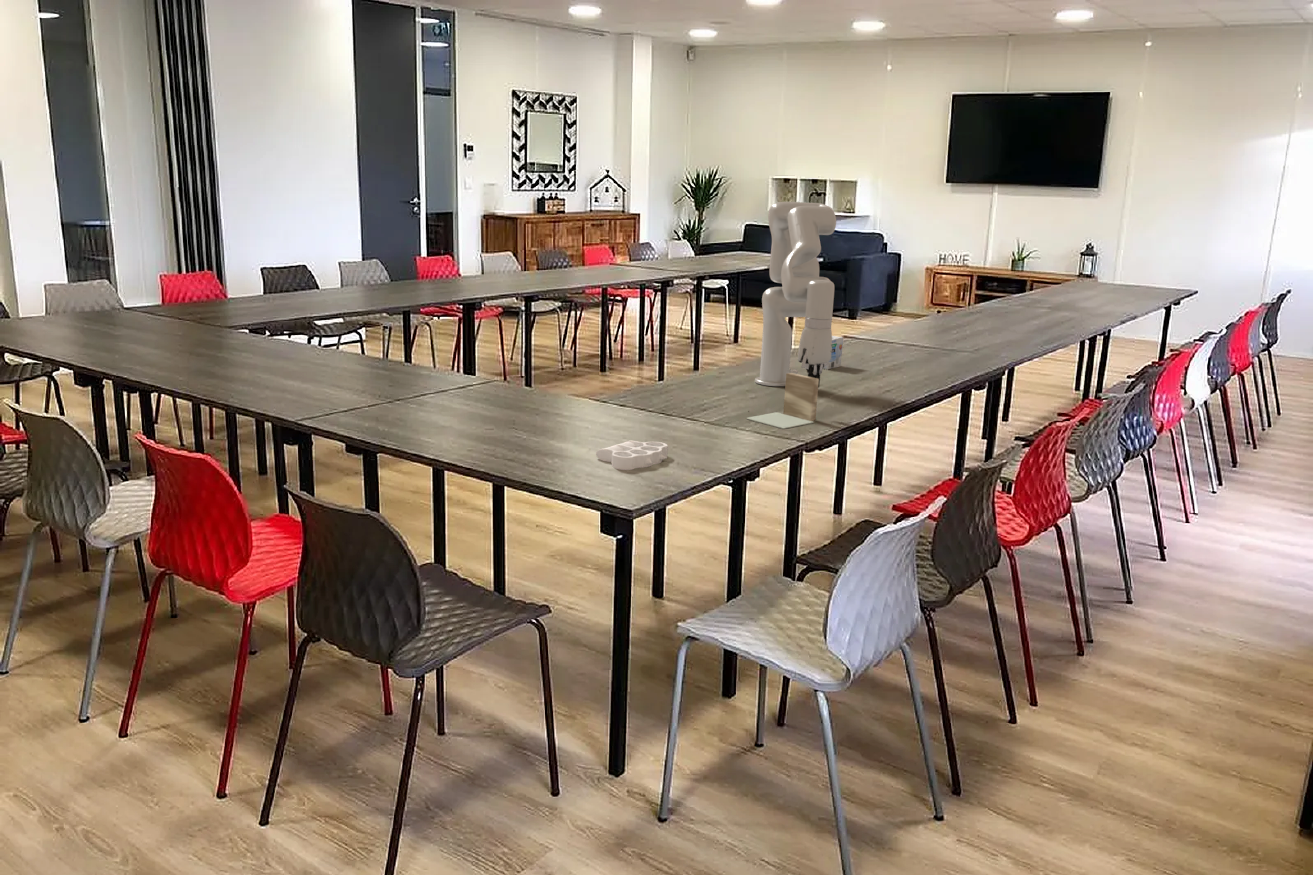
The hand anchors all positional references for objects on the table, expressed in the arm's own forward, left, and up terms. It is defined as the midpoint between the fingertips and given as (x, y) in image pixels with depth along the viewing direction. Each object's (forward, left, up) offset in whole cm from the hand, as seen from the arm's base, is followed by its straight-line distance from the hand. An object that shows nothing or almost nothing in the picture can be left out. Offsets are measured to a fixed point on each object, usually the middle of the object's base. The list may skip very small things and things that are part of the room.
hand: (813, 387), depth 305 cm
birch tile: (+5, 0, -8) cm, 10 cm away
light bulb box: (-66, -47, -8) cm, 81 cm away
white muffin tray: (+74, +7, -9) cm, 75 cm away
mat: (+14, 0, -8) cm, 16 cm away
